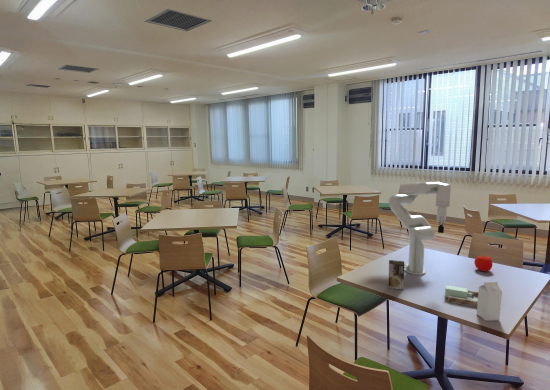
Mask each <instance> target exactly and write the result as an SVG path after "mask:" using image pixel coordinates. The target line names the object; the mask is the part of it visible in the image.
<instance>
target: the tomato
mask: <svg viewBox="0 0 550 390" xmlns="http://www.w3.org/2000/svg"><path fill="white" fill-rule="evenodd" d="M474 266H475V268H476V269H477V270H479V271H480V272H489V271H491V269H492V268H493V261H492V258H491V257H490V256H487V255H484V254H483V255H481V254H480V255H478V256H476V257H475V259H474Z"/></svg>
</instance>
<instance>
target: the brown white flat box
mask: <svg viewBox="0 0 550 390" xmlns="http://www.w3.org/2000/svg"><path fill="white" fill-rule="evenodd" d="M467 290H468V293H474V296H473V299H472V298H470V297H467V299H463V298H457V297H451V296H448V297H447V302H448V303H452V304H458V305H463V306H468V307H473V308H477V303H478V292H479V291H475V290H469V289H467Z"/></svg>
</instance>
